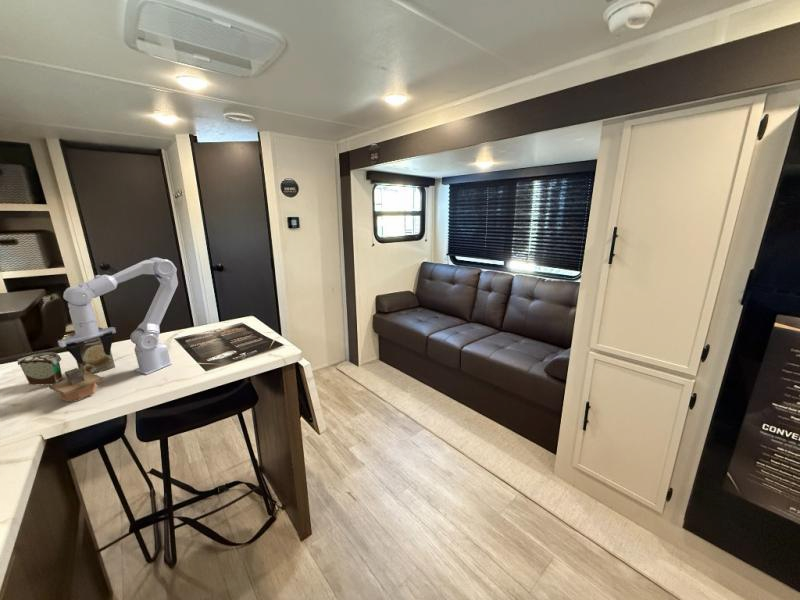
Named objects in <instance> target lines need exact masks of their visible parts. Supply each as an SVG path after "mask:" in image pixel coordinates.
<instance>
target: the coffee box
mask: <svg viewBox="0 0 800 600" xmlns="http://www.w3.org/2000/svg"><path fill="white" fill-rule="evenodd" d="M98 329H104V328H103V327H100V326H98ZM74 335H76V334H75V332H70V333H68V337H71V336H74ZM76 344H77V345H78V346H80V353H81V357H82V360H83V363H82V364H79V363H77V362H76V365H77V368H78V369H81V370H82V373H85V372H89V373H92V374H95V375H96V374H98V373H101V372H105V371H107V370H110V369H114V368H116V364H115V361H114V357H113V353H112V351H111V352H110V355H107V354H105V352H104V349H103V345H102V342H101V340H100V337H96V338H92V339H88V340H85V341H81V342H77V343H76ZM113 367H114V368H113Z"/></svg>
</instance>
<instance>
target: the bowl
mask: <svg viewBox="0 0 800 600" xmlns="http://www.w3.org/2000/svg"><path fill="white" fill-rule="evenodd" d="M97 389H98V386H97V383H94V384H92V385H89V386H86V387H84V388H81V389H79V390H76V391H74V392H71V393H69V394H66V395H64V394H62V393H59V392H58V393H59V395H60V398H61V400H64V401H67V402H75V400H77V401H79V399H81V400H83V398H84V399H86V398H88V397H90V396H92V395H93V394H94V393H95V392H96V390H97ZM94 391H95V392H94ZM91 394H92V395H91ZM89 395H90V396H89ZM87 396H88V397H87ZM85 397H86V398H85Z"/></svg>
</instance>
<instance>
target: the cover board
mask: <svg viewBox="0 0 800 600" xmlns="http://www.w3.org/2000/svg"><path fill="white" fill-rule="evenodd" d="M64 374H65V378H66V379H64V380H62V381H61V382H58V383H55V384H52V385H48V388H49V389H51V390H53V391H55V392H58V393H62V394H64V395H66V394H69V393H71V392H74V391H76V390H79V389H81V388H84V387H86V386H89V385H92V384H94V383H96V384H97V383H99V382H102V381H104V379H105V378H104V377H103V376H100V375H97V374H96V373H95V374H92V373H89V372H85V373H82V370H81V369H79V368H78V367H75V368H73V369H70V370H67V371H64Z"/></svg>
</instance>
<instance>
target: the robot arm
mask: <svg viewBox="0 0 800 600" xmlns="http://www.w3.org/2000/svg"><path fill="white" fill-rule="evenodd" d="M177 271H178V269H177V267H176V266H175V264H174V263H173V261H171V260H169V259H166V258H165V259H163V258H161V257H152V258H149V259H145V260H142V261H139V262H138V263H135V264H134V265H131V266H129V267H127V268H125V269H123V270H120V271H118V272H117V273H114V274H113V275H108V274H102V275H100V274H97V275H94V278H92V279H90V280H88V281H85V282H79V283H78V285H75V286H74V285H73V286H69V287H67V288H66V289H65V290H64V291H63V295H62V297H63V299H64V300H65V301H67V307H68V309H69V310H68V312H69V316H70V320H71V323H72V326H73V328H74V333H75V334H76V335H74V336H71V337H69V336H68V337H66V338H64V339H58V340H57V344H58V346H59V347H60V348H64V349H65V350H66V351H67V352H69V354H70V355H72V357H73V359H74V360H75V361H76V364H77V363H79V364H82V363H83V360H82V357H81V353H80V346H78V345H77V344H76V343H77V342H81V341H85V340H88V339H92V338H96V337H100V340H101V342H102V345H103V349H104V352H105V354H107V355H110V352H111V353H112V344H113V342H114V339H115V337H116V336H115V334H116V333H117V331H116V330H117V329H116V327H113V326H110V327H105V328H103V329H98V327H99V325H98V321H97V318H96V314H95V311H94V307H93V305H92V300H93V299H96V298H98V297H100V296H103V295H105V294H107V293H110V292H112V291H114V290H116V289H117V287H118V284H120V283H124V282H126V281H129V280H131V279H133V278H137V277H138V276H141V275H154V277H155V278H156V279H157V280H158V282H159V283H160V284H159V287H158V289H157V291H156V293H155V296H154V297H153V299H152V301H151V304H150V306H149V309H148V311H147V313H146V315H145V317H144V319H143V321H142V322H141V323H139V324H138V326H137V328H136V329H135V330H134V331H132V332H131V334H130V335H129V336H130V337H129V338H130V342H131V343H132V344H135V346H134V353H135V358H136V361H137V365H138V367H137V368H134V371H135V372H137V373H141V374H142V375H149V374H151V373H155V372H156V371H159V370H161V369H163V368H166V367H168V366H170V365H172V361H171V357H170V353H169V350H168V348H167V345H166V344H165V343H163V342H159V341H160V340H159V336H160V332H161V331H160V325H161V323H162V321H163V318H164V316H165V314H166V312H167V309H168V307H169V305H170V303H171V301H172V298H173V296H174V294H175V292H176V289H177V287H178V285H179V280H178V276H177Z"/></svg>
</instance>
